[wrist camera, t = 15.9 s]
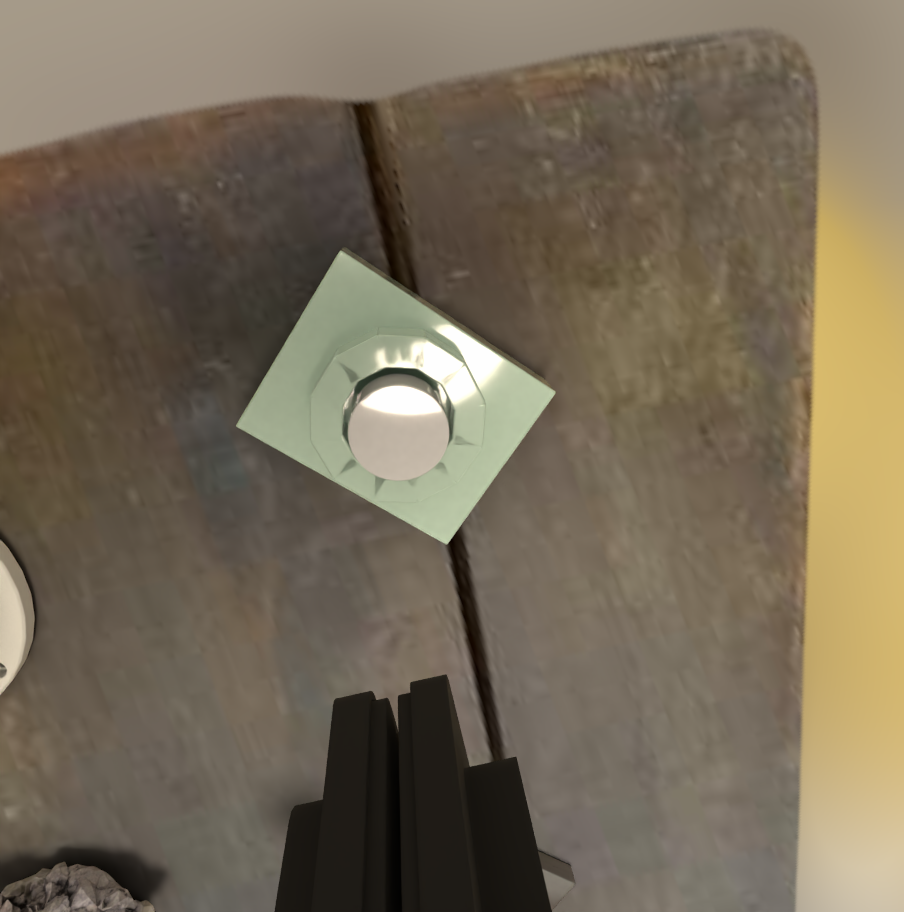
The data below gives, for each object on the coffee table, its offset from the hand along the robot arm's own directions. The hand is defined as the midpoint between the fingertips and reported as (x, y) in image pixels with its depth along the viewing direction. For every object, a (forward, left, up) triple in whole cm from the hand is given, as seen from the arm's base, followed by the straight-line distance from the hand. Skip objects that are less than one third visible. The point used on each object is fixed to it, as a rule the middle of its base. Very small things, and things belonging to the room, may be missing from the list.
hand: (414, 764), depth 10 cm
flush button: (0, 0, -17) cm, 17 cm away
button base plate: (0, 0, -21) cm, 21 cm away
